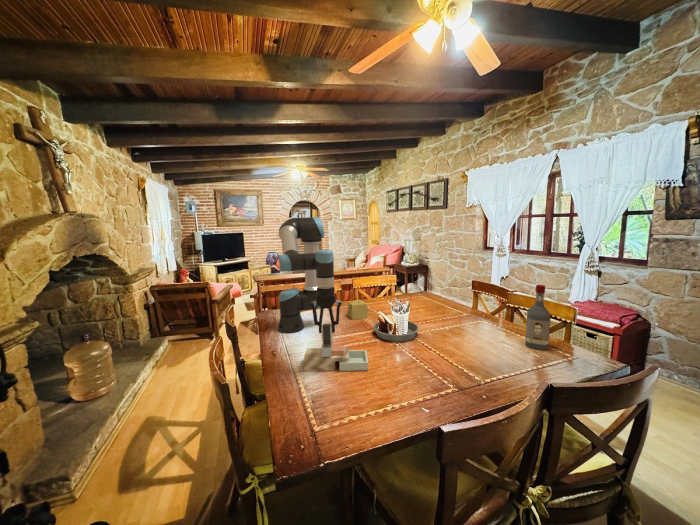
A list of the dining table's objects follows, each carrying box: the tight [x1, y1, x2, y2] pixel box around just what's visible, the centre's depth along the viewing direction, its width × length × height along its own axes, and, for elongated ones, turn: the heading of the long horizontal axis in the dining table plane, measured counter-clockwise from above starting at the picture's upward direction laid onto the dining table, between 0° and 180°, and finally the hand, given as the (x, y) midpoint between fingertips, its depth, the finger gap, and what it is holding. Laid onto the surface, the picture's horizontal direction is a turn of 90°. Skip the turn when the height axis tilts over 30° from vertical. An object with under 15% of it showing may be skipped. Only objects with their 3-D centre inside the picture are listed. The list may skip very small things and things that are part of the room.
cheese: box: [346, 299, 369, 321], centre depth 189 cm, size 10×11×10 cm
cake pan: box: [372, 320, 420, 343], centre depth 160 cm, size 25×25×4 cm
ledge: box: [303, 346, 350, 372], centre depth 126 cm, size 19×10×6 cm, turn 91°
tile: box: [332, 345, 345, 355], centre depth 126 cm, size 5×5×2 cm
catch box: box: [339, 349, 369, 372], centre depth 127 cm, size 12×12×4 cm
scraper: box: [321, 323, 334, 357], centre depth 125 cm, size 4×10×12 cm, turn 0°
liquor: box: [524, 284, 551, 351], centre depth 138 cm, size 9×9×30 cm
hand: (327, 339), depth 125 cm, fingers closed on scraper, 3 cm apart
